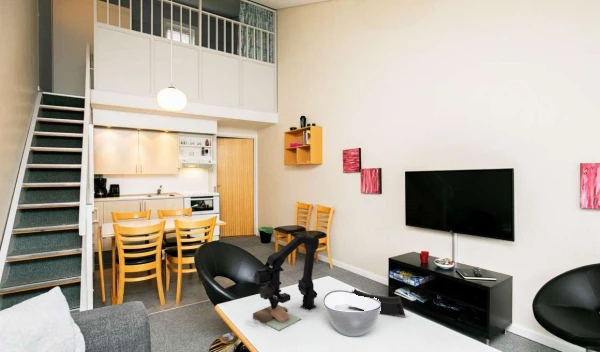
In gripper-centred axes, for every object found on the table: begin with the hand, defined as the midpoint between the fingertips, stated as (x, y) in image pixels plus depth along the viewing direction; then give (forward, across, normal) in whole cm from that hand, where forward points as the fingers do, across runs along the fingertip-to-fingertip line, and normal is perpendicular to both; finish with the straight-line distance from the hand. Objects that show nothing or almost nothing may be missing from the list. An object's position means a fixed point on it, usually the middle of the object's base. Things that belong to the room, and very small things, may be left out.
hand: (273, 310), depth 157 cm
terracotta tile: (+2, +4, 0) cm, 5 cm away
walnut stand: (+4, -2, 0) cm, 4 cm away
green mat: (+4, +7, 0) cm, 8 cm away
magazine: (+4, +35, +42) cm, 55 cm away
